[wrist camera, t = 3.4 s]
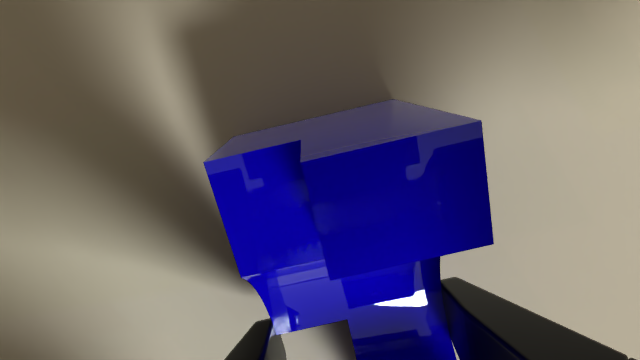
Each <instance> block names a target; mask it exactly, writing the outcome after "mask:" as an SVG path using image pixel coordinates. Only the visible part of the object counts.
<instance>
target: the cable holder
mask: <svg viewBox="0 0 640 360" xmlns="http://www.w3.org/2000/svg"><path fill="white" fill-rule="evenodd" d="M203 163H204V166H205V169H206V172H207V175H208V178H209V181H210V184H211V187H212V190H213V193H214V196H215V199H216V203H217V206H218V209H219V212H220V215H221V218H222V221H223V224H224V227H225V230H226V233H227V236H228V239H229V242H230V245H231V248H232V251H233V254H234V258H235V261H236V264H237V267H238V270H239V273H240V276H241V278H243V279H245V280H247V281H248V282H249V283H250V284H251V285H252V286H253V287H254V288H255V289H256V291H257V292H258V294H259V295H260V297H261V299H262V301H263V302H264V305H265V307H266V309H267V311H268V313H269V316H270V318H271V321H272V324H273V327H274V329H275V332H276V335H279V334H284V333H288V332H293V331H297V330H302V329H306V328H311V327H315V326H320V325H324V324H329V323H333V322H338V321H342V320H348V325H349V329H350V333H351V337H352V342H353V346H354V350H355V355H356V359H357V360H457V359H456V356H455V352H454V349H453V345H452V341H451V337H450V333H449V329H448V324H447V320H446V315H445V309H444V304H443V297H442V290H441V280H440V256H443V255H448V254H452V253H456V252H461V251H465V250H470V249H474V248H479V247H483V246H488V245H492V244H494V242H493V232H492V222H491V212H490V202H489V192H488V182H487V172H486V162H485V152H484V142H483V132H482V122H481V120H477V119H473V118H469V117H465V116H461V115H457V114H453V113H448V112H444V111H440V110H436V109H432V108H428V107H424V106H420V105H416V104H411V103H407V102H403V101H399V100H395V99H392V100H387V101H383V102H379V103H375V104H370V105H366V106H362V107H358V108H353V109H349V110H345V111H340V112H336V113H332V114H328V115H323V116H319V117H315V118H311V119H306V120H302V121H298V122H293V123H289V124H285V125H281V126H276V127H272V128H268V129H264V130H259V131H255V132H251V133H246V134H242V135H238V136H234V137H233V138H231V139H230V140H229V141H228V142H227V143H226V144H224V145H223V146H222V147H221V148H220V149H218V150H217V151H216V152H215V153H214V154H213V155H211V156H210V157H209V158H208V159H207V160H206V161H204V162H203Z"/></svg>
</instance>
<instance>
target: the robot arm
mask: <svg viewBox="0 0 640 360" xmlns="http://www.w3.org/2000/svg"><path fill="white" fill-rule="evenodd" d="M441 290H442V297H443V304H444V309H445V315H446V320H447V324H448V329H449V333H450V337H451V340H452V343H453V345H454V347H455V349H456V352H457V354H458V356H459V359H460V360H628V357H627V356H626V355H625V354H623V353H621V352H618V351H616V350H614V349H612V348H610V347H608V346H605V345H603V344H601V343H599V342H597V341H595V340H592V339H590V338H588V337H586V336H584V335H581V334H579V333H577V332H575V331H573V330H571V329H568V328H566V327H564V326H562V325H560V324H557V323H555V322H553V321H551V320H549V319H547V318H544V317H542V316H540V315H538V314H536V313H534V312H531V311H529V310H527V309H525V308H523V307H520V306H518V305H516V304H514V303H512V302H510V301H507V300H505V299H503V298H501V297H499V296H497V295H494V294H492V293H490V292H488V291H486V290H483V289H481V288H479V287H477V286H475V285H473V284H470V283H468V282H466V281H464V280H462V279H460V278H457V277H452V278H447V279H443V280H441ZM224 360H286V352H285V348H284V345H283V341H282V338H281V335H280V334H279V335H276V332H275V329H274V327H273V324H272V321H271V318H269V319H265V320H261V321H257V322H255V323H254V324H253V326H252V327H251V328H250V329H249V330H248V332H247V333H246V334H245V335H244V336H243V338H242V339H241V340H240V341H239V343H238V344H237V345H236V346H235V347H234V349H233V350H232V351H231V352H230V353H229V355H228V356H227V357H226V358H225V359H224ZM629 360H636V359H634V358H629Z"/></svg>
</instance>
